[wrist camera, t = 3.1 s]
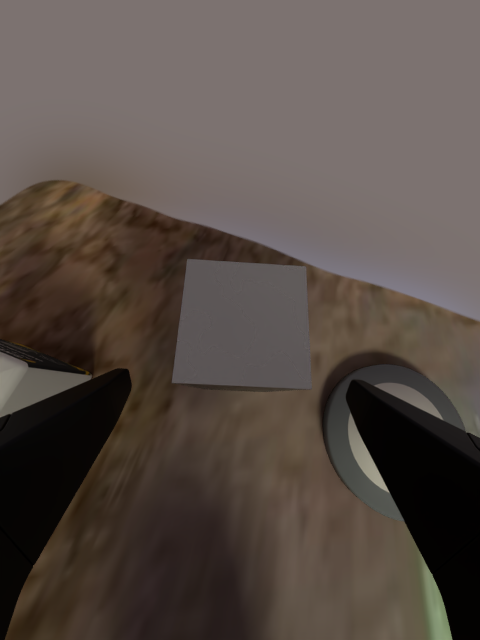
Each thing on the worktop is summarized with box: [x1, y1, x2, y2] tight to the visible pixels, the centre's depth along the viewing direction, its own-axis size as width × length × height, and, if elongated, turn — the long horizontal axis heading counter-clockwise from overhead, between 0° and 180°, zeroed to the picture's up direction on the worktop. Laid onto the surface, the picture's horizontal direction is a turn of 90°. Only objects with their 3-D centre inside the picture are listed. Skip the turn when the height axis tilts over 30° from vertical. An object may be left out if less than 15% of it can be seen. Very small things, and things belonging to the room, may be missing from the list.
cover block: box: [172, 259, 312, 392], centre depth 15 cm, size 5×5×12 cm
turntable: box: [323, 364, 466, 521], centre depth 19 cm, size 11×11×1 cm
